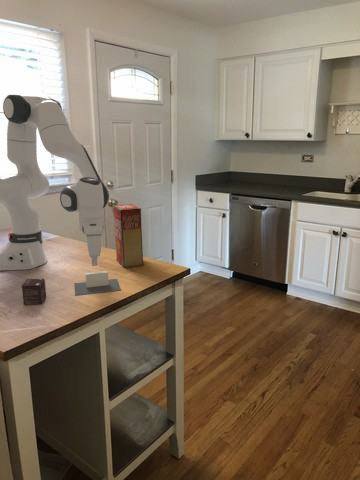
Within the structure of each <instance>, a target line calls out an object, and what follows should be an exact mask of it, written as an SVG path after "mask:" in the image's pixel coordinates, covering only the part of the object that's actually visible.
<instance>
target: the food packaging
mask: <svg viewBox="0 0 360 480" xmlns="http://www.w3.org/2000/svg"><path fill="white" fill-rule="evenodd" d="M112 211H113V222H114V223H113V224H114V234H115V235H114V236H115V239H114V240H115V253H116V258H115V259H116V261H117V262H118V263H119V264H120V265H121V267H122V268H123V267H124V268H123V269H126V268H125V267H128V268H132V267H133V268H134V266H135V267H141V266H140V265H142V266H144V256H143V253H144V252H143V234H142V233H143V232H142V231H143V230H142V208H140V207H138V206H136V205H134V204H133V203H125V204H113V206H112Z"/></svg>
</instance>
